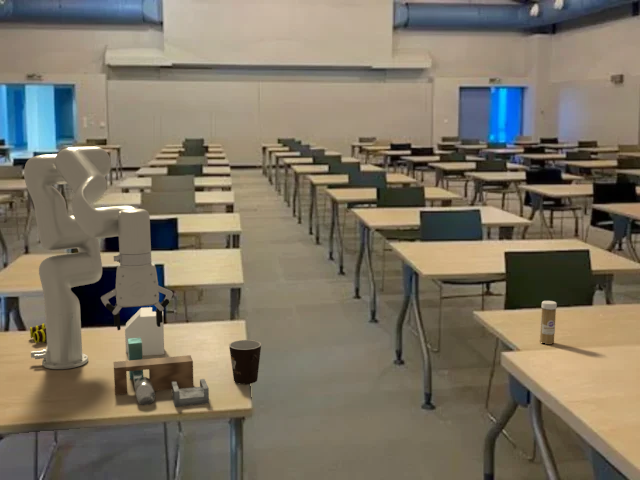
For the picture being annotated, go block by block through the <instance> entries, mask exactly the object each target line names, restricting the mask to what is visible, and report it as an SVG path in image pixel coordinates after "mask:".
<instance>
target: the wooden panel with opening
mask: <svg viewBox="0 0 640 480" xmlns="http://www.w3.org/2000/svg"><path fill="white" fill-rule="evenodd" d="M137 370H143V371H145V370H148V375H149V376H148V378H149V379H150V380H151V381H152V384H153V388H154V392H158V391H167V390H168V391H169V390H172V382H177V385H178V388H179V389H182V388H192V387H194V361H193V358H192V355H190V354H189V355H177V356H167V357H155V358H143V359H141V360H130V361H129V360H122V361H121V360H119V361H113V378H114V380H113V382H114V383H113V384H114V395H115V396H118V395H125V394H126V395H127V394H128V377H127V376H128V375H127V372H129V371H137Z"/></svg>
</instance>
